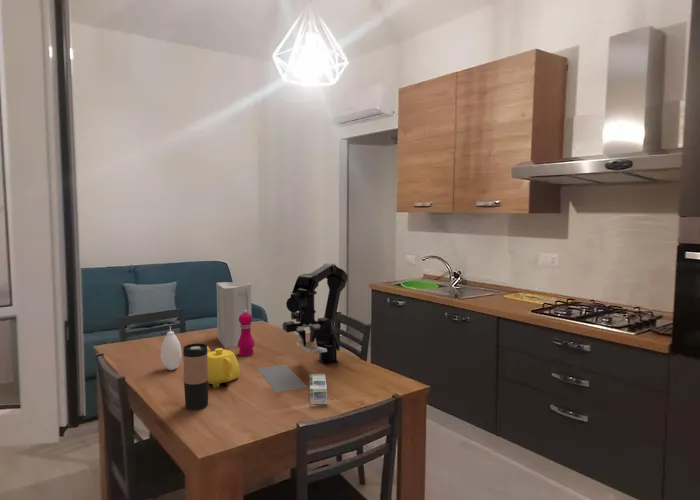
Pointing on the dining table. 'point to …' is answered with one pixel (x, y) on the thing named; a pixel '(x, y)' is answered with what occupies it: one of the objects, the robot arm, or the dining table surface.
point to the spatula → (310, 347)
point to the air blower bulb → (171, 351)
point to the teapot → (221, 366)
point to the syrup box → (318, 389)
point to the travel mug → (195, 376)
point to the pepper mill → (245, 335)
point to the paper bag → (231, 310)
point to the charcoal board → (281, 378)
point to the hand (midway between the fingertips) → (307, 346)
